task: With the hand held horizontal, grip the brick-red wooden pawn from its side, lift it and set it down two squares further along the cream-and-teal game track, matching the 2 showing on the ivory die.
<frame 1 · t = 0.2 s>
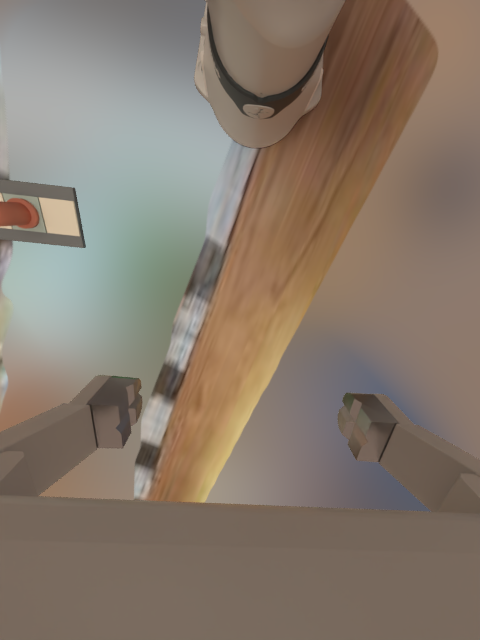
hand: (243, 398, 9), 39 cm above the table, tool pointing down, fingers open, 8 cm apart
pawn: (25, 213, 40), point 1 cm above the table, touching track board
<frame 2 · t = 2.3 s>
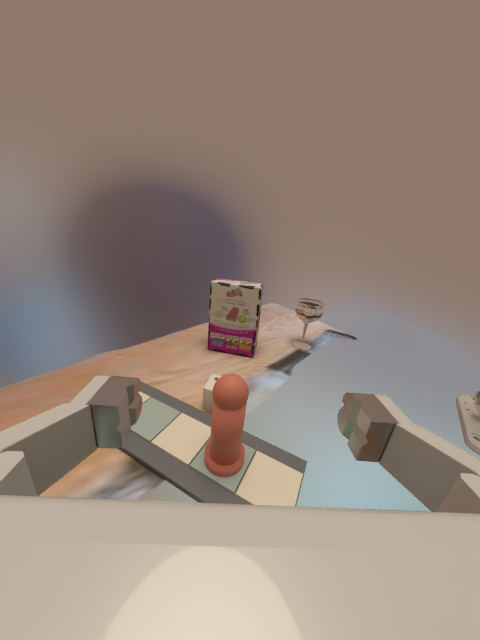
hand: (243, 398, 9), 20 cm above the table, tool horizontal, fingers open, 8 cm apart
die: (218, 403, 37), on the table
track board: (184, 441, 30), on the table
candy bar box: (232, 349, 55), on the table
wineglass: (301, 345, 60), on the table
pawn: (224, 457, 27), point 1 cm above the table, touching track board
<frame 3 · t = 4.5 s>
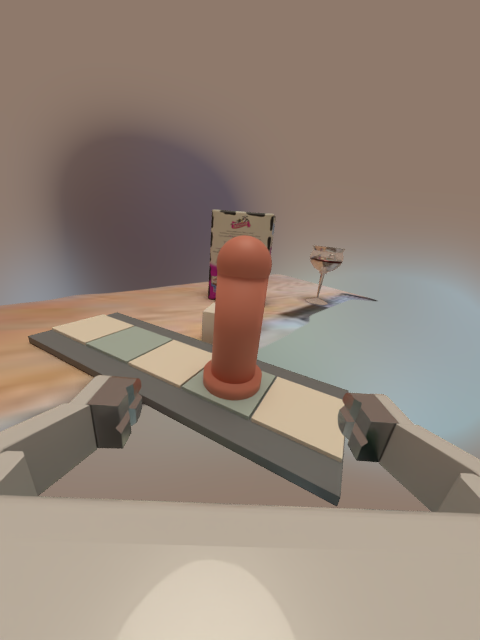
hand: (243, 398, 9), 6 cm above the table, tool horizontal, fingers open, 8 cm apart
die: (221, 338, 29), on the table
track board: (176, 367, 22), on the table
candy bar box: (236, 301, 47), on the table
wineglass: (316, 302, 52), on the table
pawn: (231, 380, 19), point 1 cm above the table, touching track board
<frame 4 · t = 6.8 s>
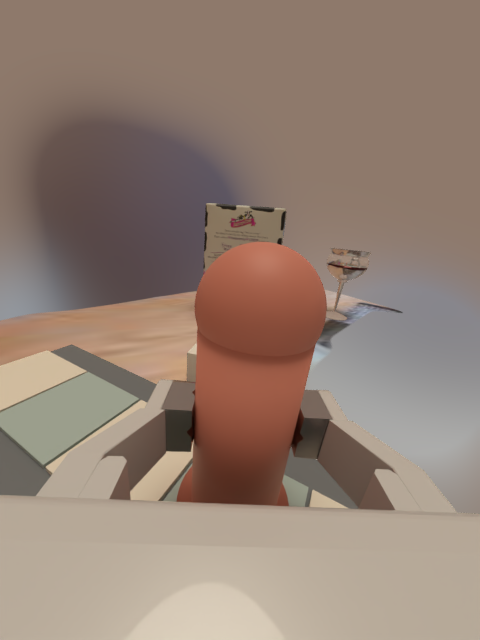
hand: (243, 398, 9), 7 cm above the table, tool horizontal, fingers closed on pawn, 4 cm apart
die: (217, 386, 20), on the table
track board: (137, 462, 13), on the table
candy bar box: (237, 317, 38), on the table
wineglass: (333, 316, 43), on the table
pawn: (231, 511, 10), point 1 cm above the table, touching gripper, track board
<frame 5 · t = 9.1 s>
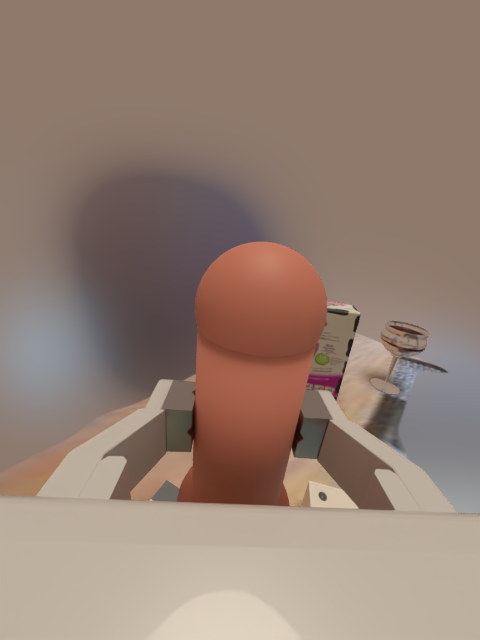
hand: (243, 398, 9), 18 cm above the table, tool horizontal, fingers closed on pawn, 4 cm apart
die: (324, 539, 20), on the table
candy bar box: (295, 398, 38), on the table
wineglass: (384, 386, 43), on the table
pawn: (231, 512, 10), point 13 cm above the table, touching gripper
when the fingers open (7 cm above the table, at t = 11.5 s): pawn stays where it is, resting on track board.
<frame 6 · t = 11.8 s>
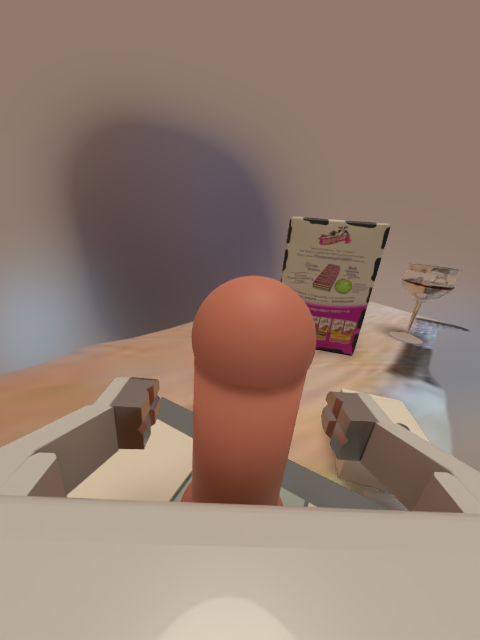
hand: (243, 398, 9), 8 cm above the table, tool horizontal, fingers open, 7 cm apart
die: (362, 459, 16), on the table
track board: (366, 636, 9), on the table
candy bar box: (308, 342, 33), on the table
wineglass: (405, 338, 39), on the table
pawn: (230, 525, 11), point 1 cm above the table, touching track board
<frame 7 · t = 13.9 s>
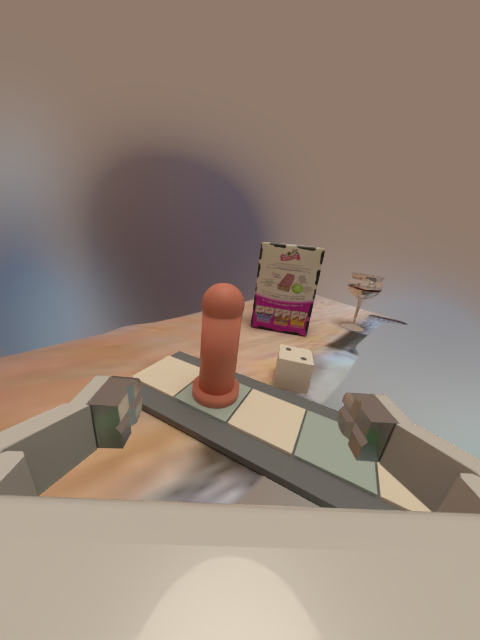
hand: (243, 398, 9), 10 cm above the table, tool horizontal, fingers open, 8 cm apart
die: (289, 381, 29), on the table
track board: (267, 423, 22), on the table
candy bar box: (277, 328, 47), on the table
wineglass: (351, 327, 53), on the table
pawn: (215, 392, 24), point 1 cm above the table, touching track board
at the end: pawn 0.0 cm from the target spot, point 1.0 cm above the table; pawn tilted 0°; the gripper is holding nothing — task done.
